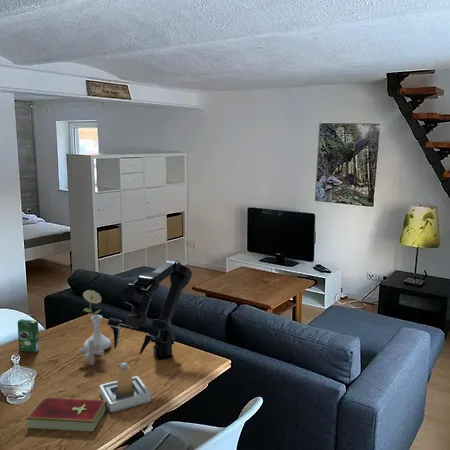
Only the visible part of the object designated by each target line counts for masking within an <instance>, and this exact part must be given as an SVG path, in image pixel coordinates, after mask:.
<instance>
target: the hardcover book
mask: <svg viewBox="0 0 450 450" xmlns="http://www.w3.org/2000/svg"><path fill="white" fill-rule="evenodd" d="M107 410H108V407H107V401H104V400H103V399H101V400H98V399H80V398H78V399H77V398H61V397H58V398H57V397H42V398H41V400H40V401H38V403H37V404H36V406H35V407H34V408H33V409H32V410H31V411H30V412H29V413H28V415H27V416H26V417H25V420H27V428H29V429H44V430H45V429H46V430H60V431H61V430H62V431H76V432H77V431H78V432H81V431H82V432H94V431H95V429H96V428H97V426H98V424H99V423H100V420H101V419H102V417H103V416H104V414H105V412H106V411H107Z"/></svg>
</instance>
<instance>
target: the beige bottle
mask: <svg viewBox="0 0 450 450" xmlns="http://www.w3.org/2000/svg"><path fill="white" fill-rule="evenodd" d="M132 377H133V368H132V366H131V365H129V363H128V362H121V363H120V365H119V366H117V367H116V381H117V390H116V392H115V397H116V399H121V398H125V397H129V396H133V395H135V390H134V389H133V388H132Z"/></svg>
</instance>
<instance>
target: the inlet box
mask: <svg viewBox="0 0 450 450" xmlns="http://www.w3.org/2000/svg"><path fill="white" fill-rule="evenodd" d="M132 388H133V389H134V390H135V395H133V396H129V397H125V398H121V399H116V397H115V392H116V390H117V380H114V381H111V382H107V383H103V384H99V394H100V396H101V398H102V401H107V410H109V412H110V413H111V412H112V413H115V412H119V411H122V410H127V409H130V408H134V407H137V406H140V405H141V406H142V405H144V404H149V403H151V402H152V396H151V395H152V393H151V392H150V391H149V389H148V388H147V386H146V385H145V384H144V382H143V381H142V380H141V378H140V377H139V376H138V375H135V376H132Z"/></svg>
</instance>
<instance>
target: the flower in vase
mask: <svg viewBox="0 0 450 450" xmlns="http://www.w3.org/2000/svg"><path fill="white" fill-rule="evenodd" d="M82 297H83V298H84V299H85V301H86V302H89V308H87V307H85V308H84V309H83V310H82V312H87V313H92V316H90V317H89V318H90V320H91V321H92V324H93V333H92V335H91V336H90V337H89V338H87V339H86V340H85V341H84V342H83V347H82V348H84V349H89V339H93V341H94V346H95V345H97V344H98V345H99V346H100V347H99V349H98V350H104V351H105V350H107V349H108V348H110V346H111V345H112V341H111V339H109V338H108V337H106V336H105V335H103V334H102V333H101V331H100V324H101V320H102V318H103V315H100V314H99V313H100V312H101V311H102V309H98V310H96V311H95V312H93V311H92V308H91V307H92V304H99V303H101V302H102V300H103V298H102V296H101V294H100V293H98V292H96V291H95V290H92V289H89V290H88V289H87V290H85V291H84V292H83V293H82Z"/></svg>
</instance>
